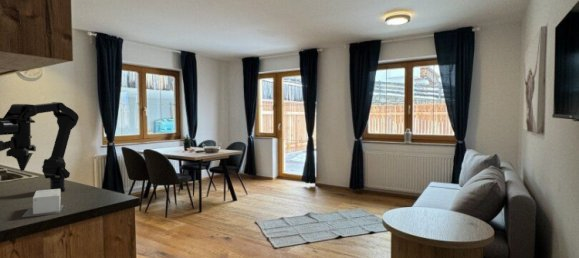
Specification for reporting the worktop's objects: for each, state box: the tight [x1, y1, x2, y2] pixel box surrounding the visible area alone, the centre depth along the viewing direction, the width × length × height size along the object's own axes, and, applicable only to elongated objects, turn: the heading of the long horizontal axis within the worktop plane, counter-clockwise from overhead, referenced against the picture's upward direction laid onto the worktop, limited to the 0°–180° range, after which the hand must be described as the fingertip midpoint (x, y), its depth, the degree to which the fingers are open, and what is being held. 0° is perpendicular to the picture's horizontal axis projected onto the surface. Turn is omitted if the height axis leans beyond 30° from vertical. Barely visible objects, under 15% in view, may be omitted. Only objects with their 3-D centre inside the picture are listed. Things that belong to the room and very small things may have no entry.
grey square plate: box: [21, 204, 65, 218], centre depth 122 cm, size 11×11×1 cm
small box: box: [32, 189, 62, 215], centre depth 124 cm, size 8×6×13 cm
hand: (22, 170), depth 135 cm, fingers closed
